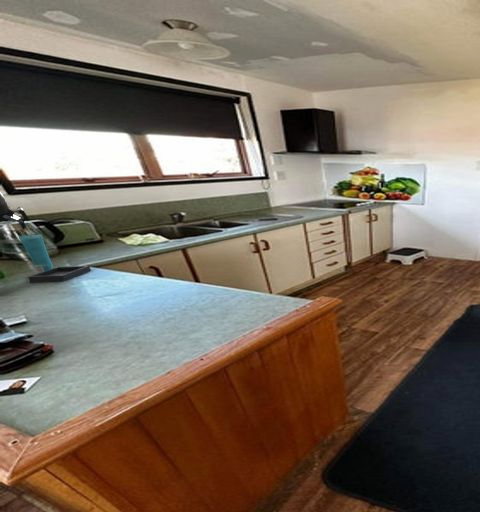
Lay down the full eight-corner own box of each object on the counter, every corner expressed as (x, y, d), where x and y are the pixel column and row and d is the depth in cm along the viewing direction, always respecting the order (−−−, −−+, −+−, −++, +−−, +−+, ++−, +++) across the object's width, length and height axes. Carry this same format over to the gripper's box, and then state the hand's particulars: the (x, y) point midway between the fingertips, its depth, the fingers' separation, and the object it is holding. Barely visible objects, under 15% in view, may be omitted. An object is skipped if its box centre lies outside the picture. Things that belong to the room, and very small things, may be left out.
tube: (60, 270, 135) (44, 233, 129) (56, 273, 132) (39, 235, 125) (38, 273, 132) (20, 235, 125) (33, 276, 128) (14, 237, 122)
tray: (30, 282, 122) (27, 276, 121) (59, 271, 134) (57, 266, 133) (64, 280, 123) (62, 275, 122) (91, 270, 135) (89, 265, 134)
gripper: (13, 192, 116) (28, 221, 126) (-45, 199, 105) (-23, 230, 115) (21, 202, 114) (36, 231, 124) (-37, 210, 103) (-16, 241, 113)
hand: (8, 231), depth 119 cm, fingers open, 8 cm apart
